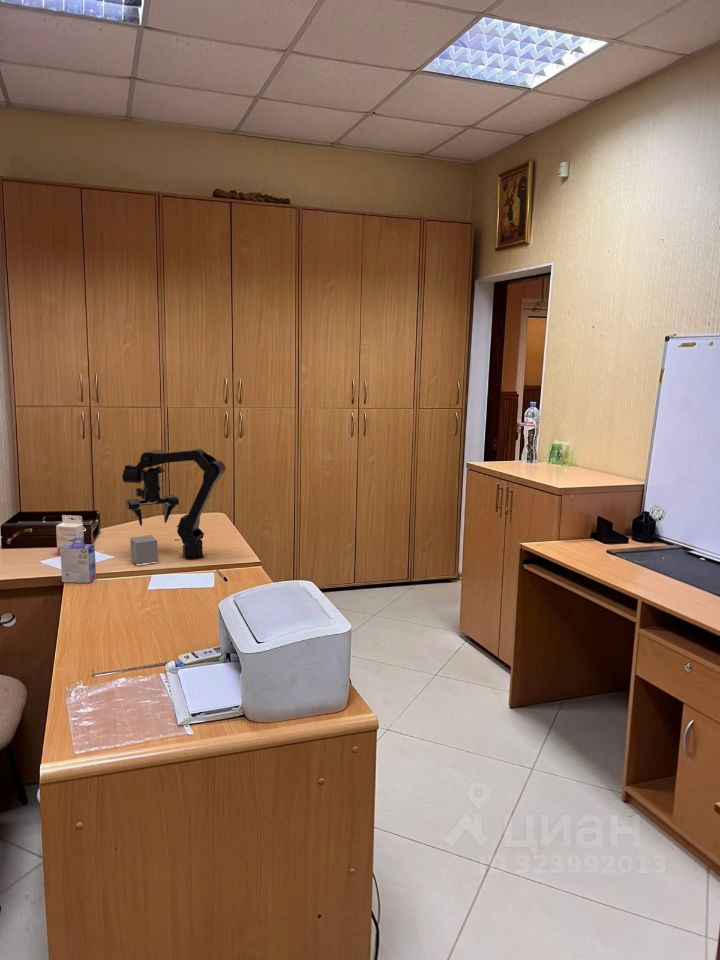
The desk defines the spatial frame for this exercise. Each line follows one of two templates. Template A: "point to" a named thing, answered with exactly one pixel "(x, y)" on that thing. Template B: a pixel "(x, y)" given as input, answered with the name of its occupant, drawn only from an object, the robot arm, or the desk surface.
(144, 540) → the matte gray cube
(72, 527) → the ink cartridge box
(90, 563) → the ink cartridge box
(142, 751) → the desk surface
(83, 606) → the desk surface
